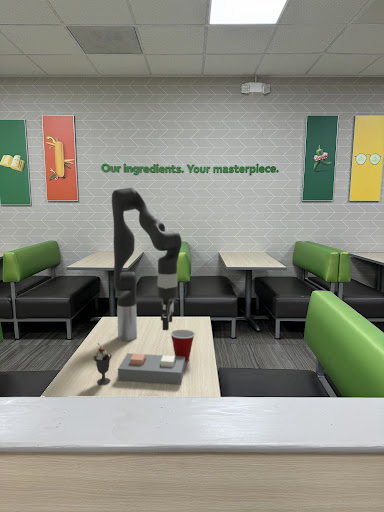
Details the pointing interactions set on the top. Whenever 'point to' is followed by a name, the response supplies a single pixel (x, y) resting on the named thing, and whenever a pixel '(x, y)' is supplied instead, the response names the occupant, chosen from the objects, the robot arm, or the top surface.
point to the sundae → (102, 365)
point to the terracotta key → (137, 359)
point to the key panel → (152, 370)
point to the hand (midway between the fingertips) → (167, 325)
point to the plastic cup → (182, 342)
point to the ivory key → (168, 361)
